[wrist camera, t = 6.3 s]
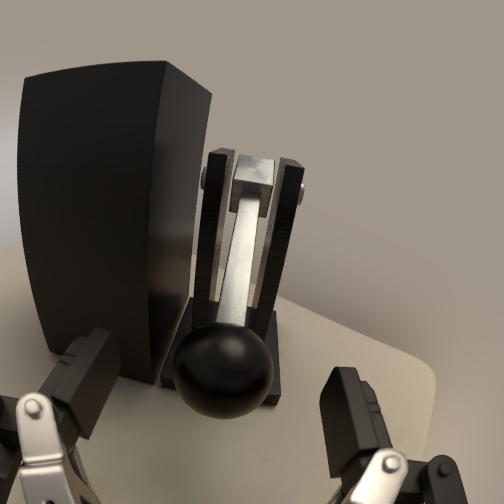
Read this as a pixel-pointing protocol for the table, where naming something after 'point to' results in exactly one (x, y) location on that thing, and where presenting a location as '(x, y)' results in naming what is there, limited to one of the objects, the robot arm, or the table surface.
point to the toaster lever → (231, 316)
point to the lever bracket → (271, 266)
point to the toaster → (111, 202)
